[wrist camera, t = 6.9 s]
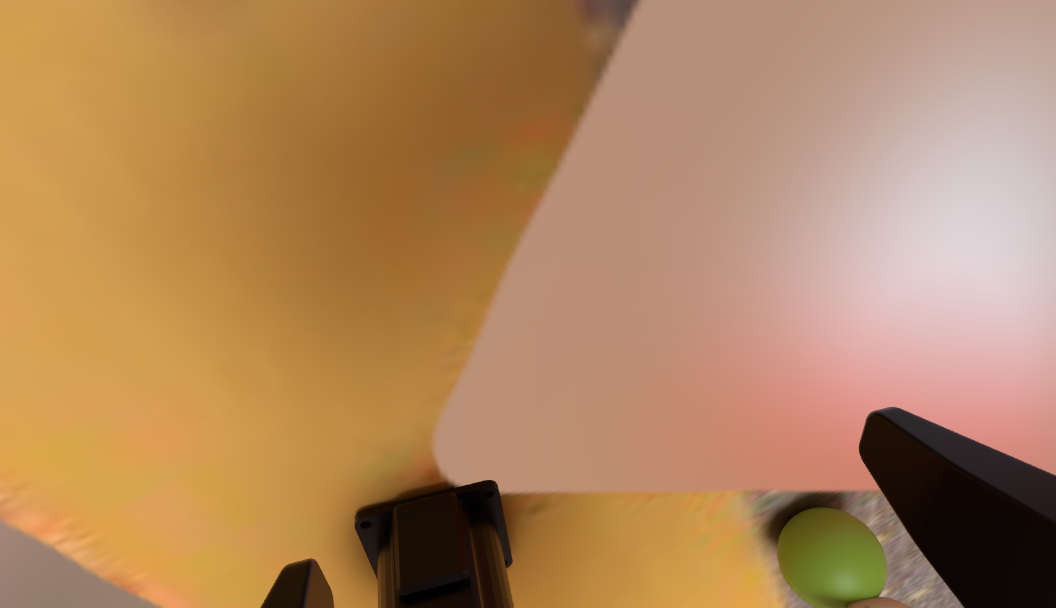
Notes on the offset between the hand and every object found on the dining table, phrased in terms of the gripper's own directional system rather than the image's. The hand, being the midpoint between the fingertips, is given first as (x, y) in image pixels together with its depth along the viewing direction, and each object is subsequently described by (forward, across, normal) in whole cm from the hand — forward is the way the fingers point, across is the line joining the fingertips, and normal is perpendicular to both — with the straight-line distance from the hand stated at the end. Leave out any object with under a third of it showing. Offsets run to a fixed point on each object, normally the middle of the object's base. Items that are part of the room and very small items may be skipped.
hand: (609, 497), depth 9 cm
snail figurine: (+13, -15, +24) cm, 31 cm away
